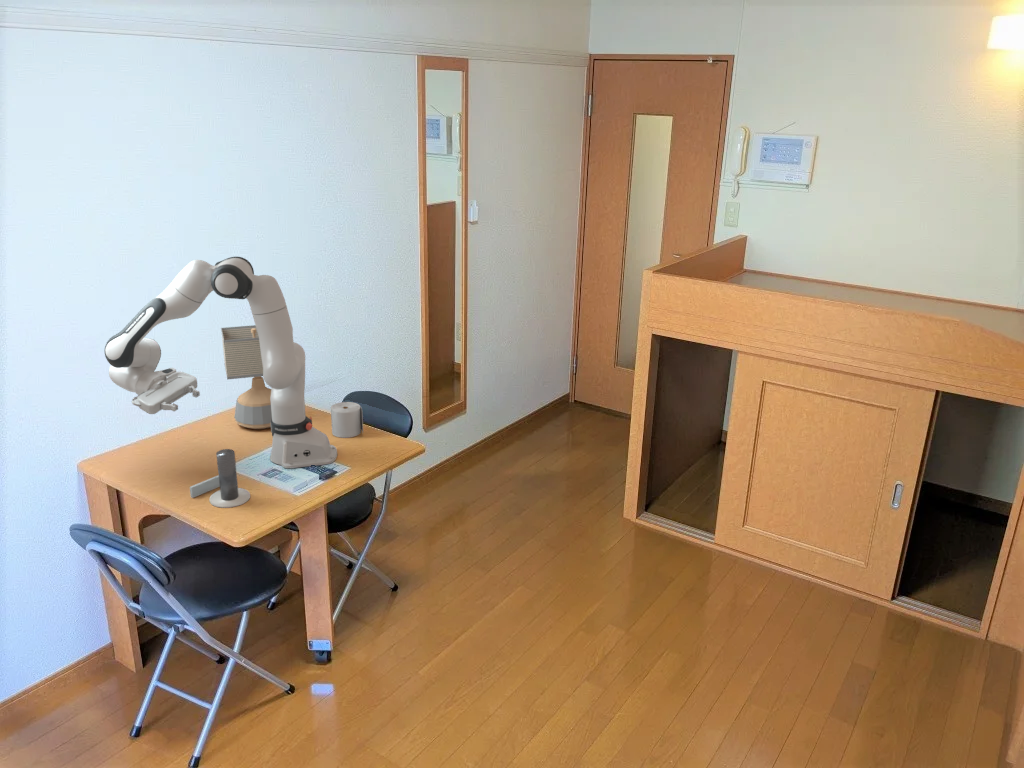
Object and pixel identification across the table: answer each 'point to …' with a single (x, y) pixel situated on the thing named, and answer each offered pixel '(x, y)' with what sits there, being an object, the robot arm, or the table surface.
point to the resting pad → (242, 498)
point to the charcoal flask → (227, 474)
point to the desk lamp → (247, 375)
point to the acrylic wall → (204, 486)
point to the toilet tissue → (346, 419)
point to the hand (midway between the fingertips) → (187, 401)
